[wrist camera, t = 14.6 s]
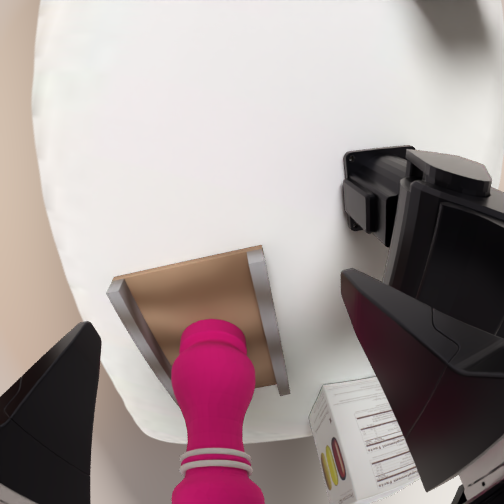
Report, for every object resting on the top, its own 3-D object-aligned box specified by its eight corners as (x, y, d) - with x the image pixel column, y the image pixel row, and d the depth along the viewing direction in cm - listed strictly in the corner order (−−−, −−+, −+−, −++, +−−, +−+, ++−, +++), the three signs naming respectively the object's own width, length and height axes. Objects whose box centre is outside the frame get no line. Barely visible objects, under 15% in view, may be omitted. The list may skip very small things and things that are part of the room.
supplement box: (321, 383, 33) (357, 501, 19) (383, 373, 34) (428, 474, 20) (307, 418, 38) (330, 515, 23) (361, 408, 39) (392, 496, 24)
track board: (113, 277, 23) (105, 293, 21) (261, 244, 23) (265, 260, 21) (182, 394, 32) (181, 410, 30) (287, 377, 32) (290, 393, 30)
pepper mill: (235, 370, 29) (254, 553, 12) (169, 355, 27) (156, 550, 10) (262, 324, 26) (304, 547, 9) (185, 305, 24) (172, 554, 7)
